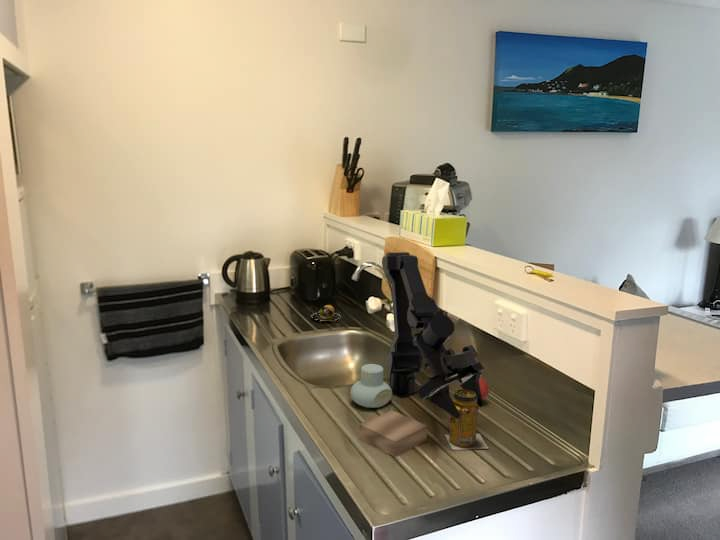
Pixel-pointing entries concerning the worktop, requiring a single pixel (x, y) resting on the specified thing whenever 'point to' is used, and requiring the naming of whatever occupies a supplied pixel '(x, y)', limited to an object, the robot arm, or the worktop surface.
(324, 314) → the burger
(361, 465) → the worktop surface
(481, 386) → the onion
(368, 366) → the air freshener
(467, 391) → the condiment
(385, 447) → the pinkish brown square block
